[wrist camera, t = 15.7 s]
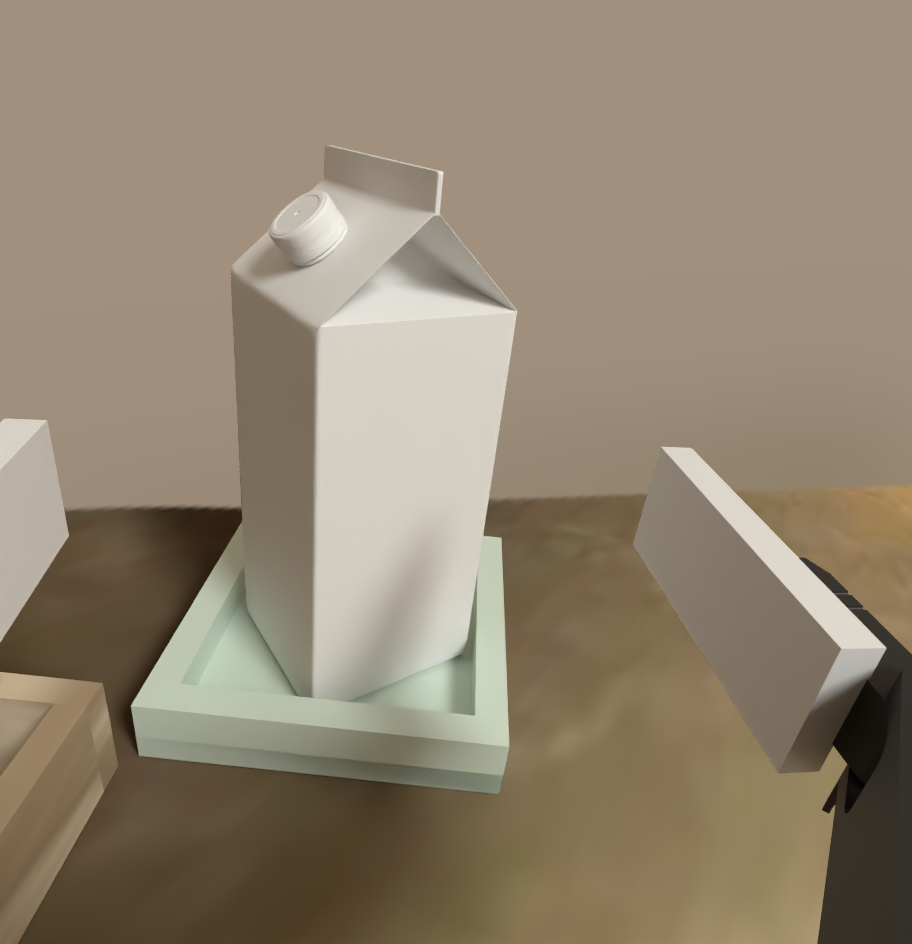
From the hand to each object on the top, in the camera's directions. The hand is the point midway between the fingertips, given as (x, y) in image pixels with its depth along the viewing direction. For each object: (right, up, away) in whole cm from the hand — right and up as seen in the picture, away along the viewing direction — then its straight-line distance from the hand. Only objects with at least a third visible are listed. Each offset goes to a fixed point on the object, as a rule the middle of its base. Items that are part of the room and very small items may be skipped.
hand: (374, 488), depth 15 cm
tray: (-3, -7, +15) cm, 17 cm away
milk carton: (-3, -7, +15) cm, 16 cm away
